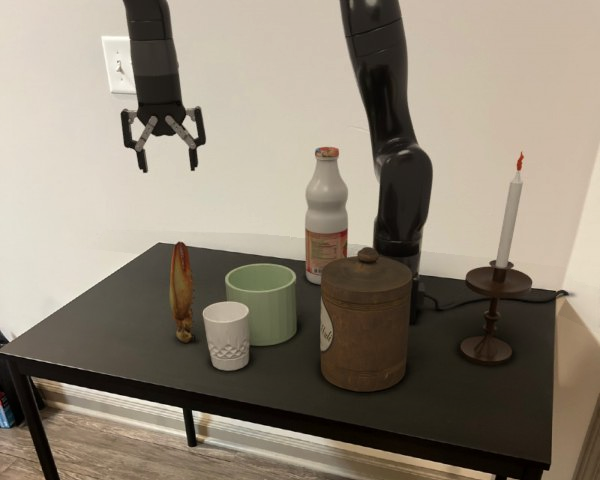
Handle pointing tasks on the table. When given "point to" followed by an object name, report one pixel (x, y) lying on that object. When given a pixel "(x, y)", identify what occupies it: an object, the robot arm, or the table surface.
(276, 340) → the crock
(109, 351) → the table surface
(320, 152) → the fruit juice
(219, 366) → the white cup
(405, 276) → the wooden container
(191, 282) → the crab claw
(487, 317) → the candlestick
